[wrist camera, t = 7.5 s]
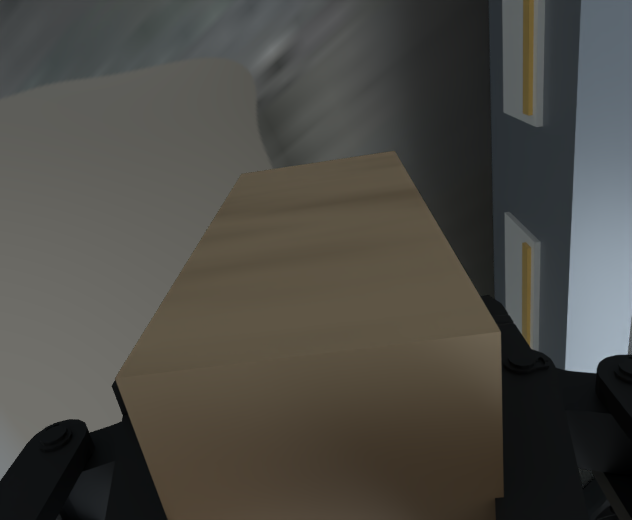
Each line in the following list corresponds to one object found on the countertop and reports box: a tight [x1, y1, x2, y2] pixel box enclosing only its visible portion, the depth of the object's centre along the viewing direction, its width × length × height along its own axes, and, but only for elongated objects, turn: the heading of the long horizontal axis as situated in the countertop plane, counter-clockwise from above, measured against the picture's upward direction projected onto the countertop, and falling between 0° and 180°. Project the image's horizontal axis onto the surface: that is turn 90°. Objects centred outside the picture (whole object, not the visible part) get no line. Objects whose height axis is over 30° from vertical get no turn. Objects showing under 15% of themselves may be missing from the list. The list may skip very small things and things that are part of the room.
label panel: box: [489, 0, 632, 373], centre depth 28 cm, size 30×4×12 cm, turn 9°
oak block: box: [115, 151, 504, 520], centre depth 13 cm, size 8×5×11 cm, turn 9°
